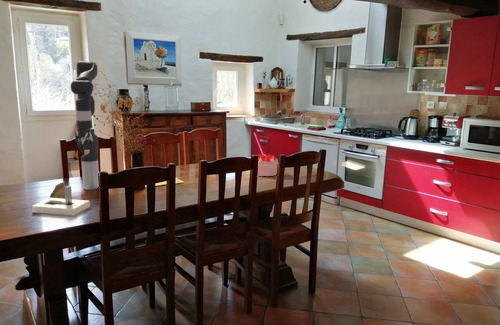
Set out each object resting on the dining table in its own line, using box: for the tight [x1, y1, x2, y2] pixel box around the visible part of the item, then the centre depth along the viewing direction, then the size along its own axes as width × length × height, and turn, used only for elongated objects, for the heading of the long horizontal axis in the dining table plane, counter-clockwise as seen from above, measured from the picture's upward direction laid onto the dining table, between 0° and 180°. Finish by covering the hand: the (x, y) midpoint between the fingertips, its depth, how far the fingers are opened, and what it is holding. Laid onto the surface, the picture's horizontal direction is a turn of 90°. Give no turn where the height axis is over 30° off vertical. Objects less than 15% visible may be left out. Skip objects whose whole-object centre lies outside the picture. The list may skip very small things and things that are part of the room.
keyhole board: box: [31, 197, 91, 217], centre depth 191 cm, size 14×22×4 cm, turn 81°
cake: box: [257, 153, 279, 177], centre depth 277 cm, size 20×20×14 cm
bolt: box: [64, 185, 73, 205], centre depth 190 cm, size 5×5×12 cm
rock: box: [49, 182, 67, 199], centre depth 207 cm, size 11×9×10 cm
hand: (86, 149), depth 203 cm, fingers open, 8 cm apart
